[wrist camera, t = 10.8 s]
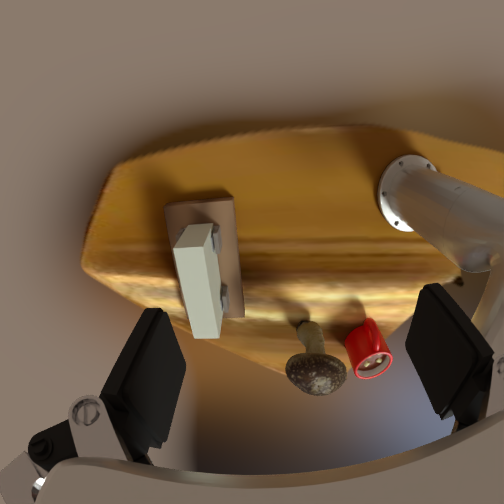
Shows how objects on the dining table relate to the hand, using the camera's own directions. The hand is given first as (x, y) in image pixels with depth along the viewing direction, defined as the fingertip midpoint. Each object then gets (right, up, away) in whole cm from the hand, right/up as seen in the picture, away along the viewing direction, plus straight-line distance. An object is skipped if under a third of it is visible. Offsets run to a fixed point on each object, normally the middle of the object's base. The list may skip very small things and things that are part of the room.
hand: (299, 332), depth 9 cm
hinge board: (-9, +1, +34) cm, 35 cm away
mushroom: (+8, -10, +39) cm, 41 cm away
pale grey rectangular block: (-8, 0, +32) cm, 33 cm away
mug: (+21, -13, +41) cm, 47 cm away
